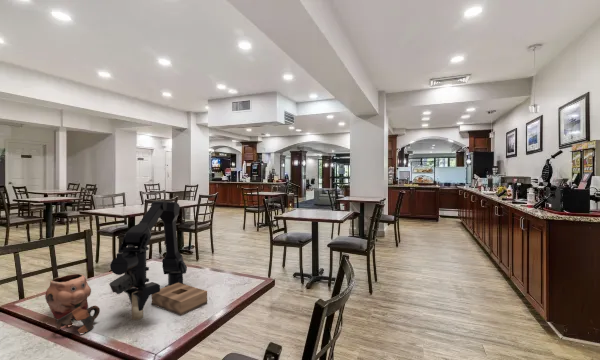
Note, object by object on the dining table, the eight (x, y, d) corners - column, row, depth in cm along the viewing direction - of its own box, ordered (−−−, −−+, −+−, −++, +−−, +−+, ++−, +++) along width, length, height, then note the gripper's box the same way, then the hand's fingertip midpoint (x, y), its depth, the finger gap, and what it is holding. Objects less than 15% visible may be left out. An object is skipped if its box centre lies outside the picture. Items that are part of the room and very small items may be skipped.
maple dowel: (129, 318, 104) (129, 293, 104) (139, 314, 107) (139, 289, 107) (135, 320, 103) (135, 295, 103) (145, 316, 106) (144, 291, 106)
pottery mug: (72, 342, 90) (58, 319, 90) (60, 347, 95) (47, 326, 94) (110, 316, 101) (97, 295, 101) (98, 322, 105) (85, 302, 105)
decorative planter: (32, 316, 106) (31, 278, 106) (70, 303, 117) (69, 268, 117) (65, 328, 98) (64, 286, 98) (102, 312, 109) (102, 275, 109)
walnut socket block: (151, 304, 116) (151, 291, 116) (178, 294, 126) (178, 282, 126) (180, 315, 106) (180, 301, 106) (207, 303, 117) (207, 291, 117)
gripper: (99, 267, 103) (99, 311, 103) (128, 276, 93) (128, 325, 93) (131, 259, 112) (131, 300, 113) (161, 267, 103) (161, 312, 103)
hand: (137, 309), depth 105 cm, fingers closed on maple dowel, 3 cm apart
